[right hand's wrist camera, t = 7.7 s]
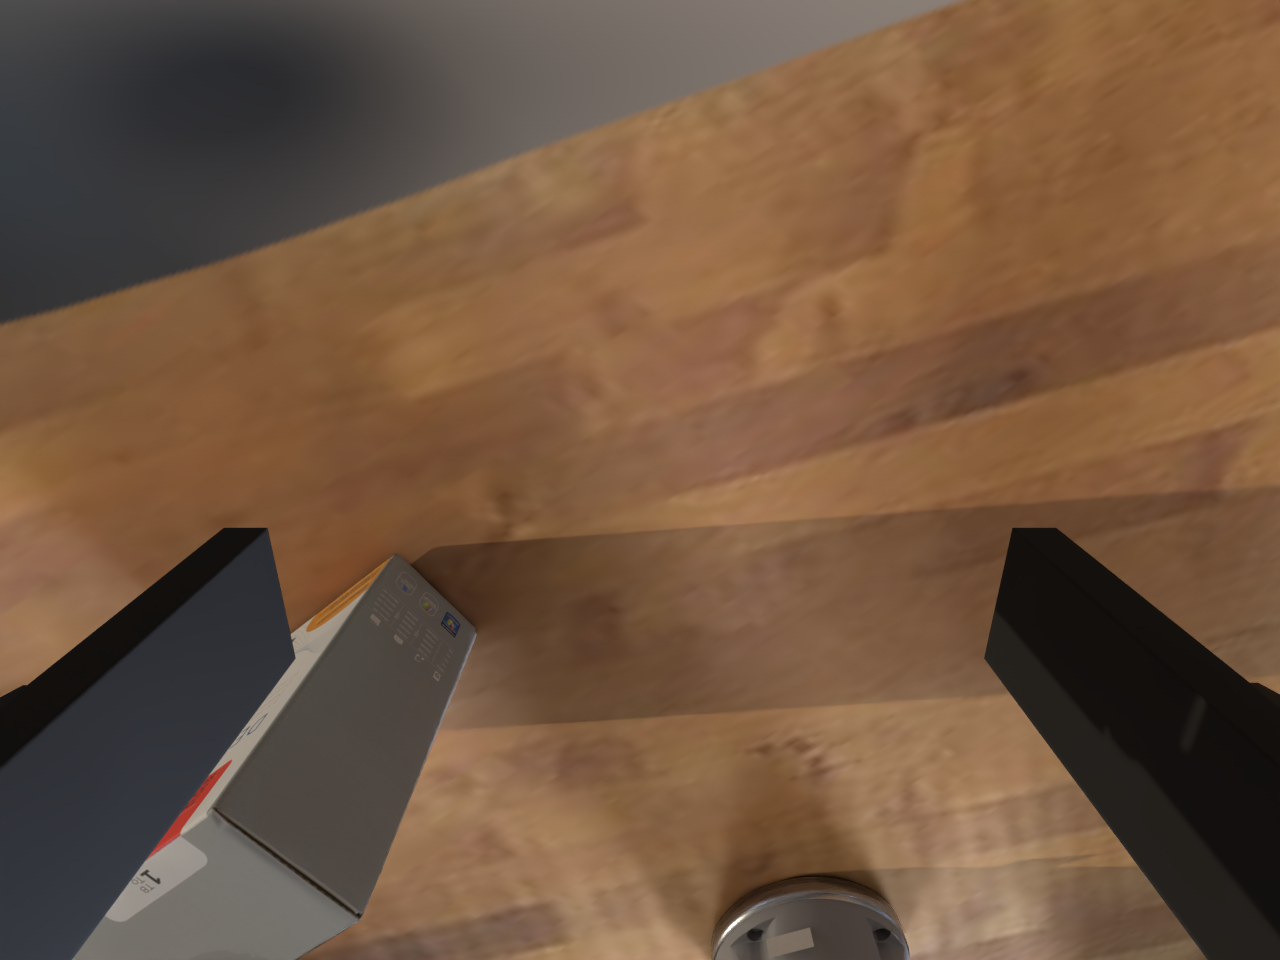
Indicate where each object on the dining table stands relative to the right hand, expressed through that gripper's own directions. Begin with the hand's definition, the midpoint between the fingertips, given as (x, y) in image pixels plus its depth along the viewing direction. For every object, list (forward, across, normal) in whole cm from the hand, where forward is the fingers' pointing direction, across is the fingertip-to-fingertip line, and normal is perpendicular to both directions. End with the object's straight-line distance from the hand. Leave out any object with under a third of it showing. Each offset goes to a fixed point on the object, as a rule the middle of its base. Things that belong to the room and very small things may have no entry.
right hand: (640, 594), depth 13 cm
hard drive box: (+28, +19, +21) cm, 40 cm away
